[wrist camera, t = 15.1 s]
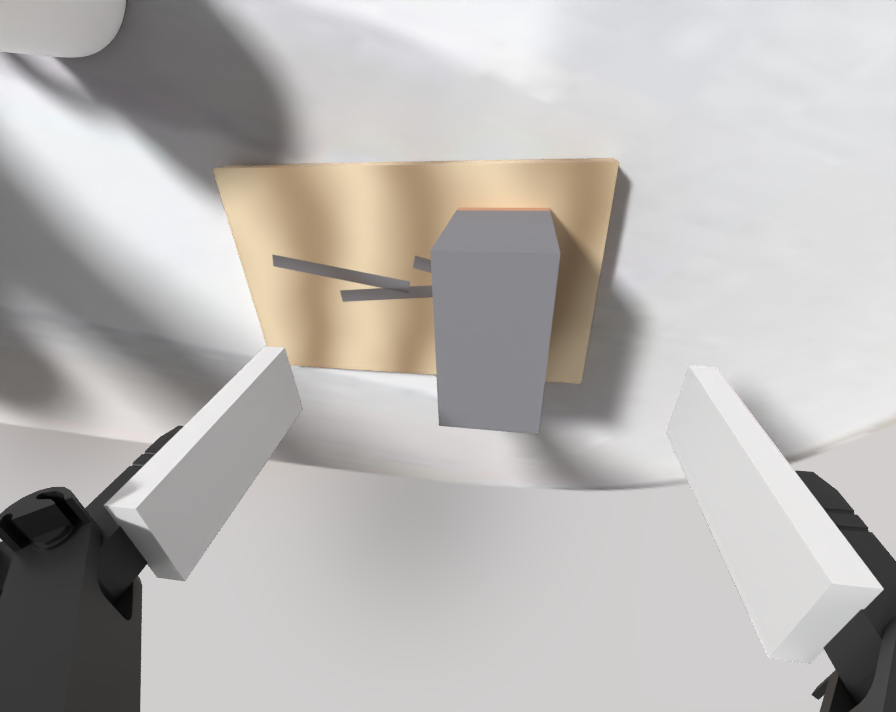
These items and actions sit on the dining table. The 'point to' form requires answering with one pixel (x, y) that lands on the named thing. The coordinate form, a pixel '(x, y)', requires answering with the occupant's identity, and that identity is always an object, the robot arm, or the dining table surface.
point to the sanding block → (494, 316)
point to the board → (400, 251)
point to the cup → (59, 26)
